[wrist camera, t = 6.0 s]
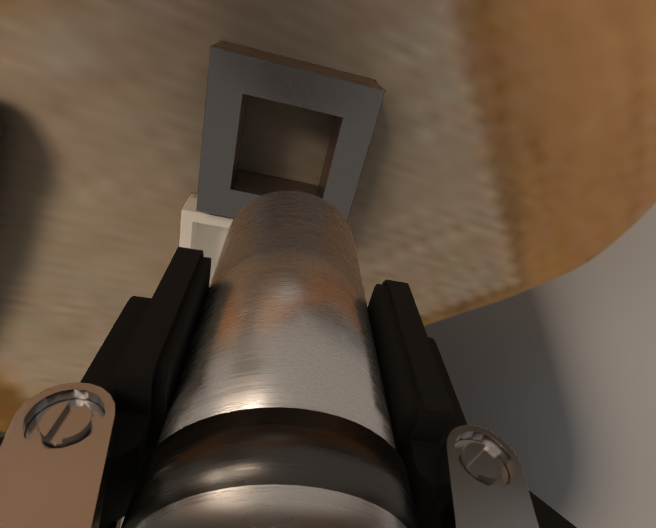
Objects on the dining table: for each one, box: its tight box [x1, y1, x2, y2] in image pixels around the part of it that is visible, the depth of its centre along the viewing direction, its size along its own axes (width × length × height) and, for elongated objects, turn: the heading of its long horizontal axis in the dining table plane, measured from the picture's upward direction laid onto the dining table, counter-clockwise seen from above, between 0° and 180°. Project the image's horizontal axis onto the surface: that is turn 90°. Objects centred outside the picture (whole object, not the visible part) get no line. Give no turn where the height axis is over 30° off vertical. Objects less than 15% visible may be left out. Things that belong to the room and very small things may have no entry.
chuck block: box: [196, 40, 385, 221], centre depth 25 cm, size 9×9×3 cm
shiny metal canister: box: [121, 191, 419, 528], centre depth 10 cm, size 4×4×9 cm
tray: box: [179, 193, 234, 287], centre depth 30 cm, size 9×9×3 cm
